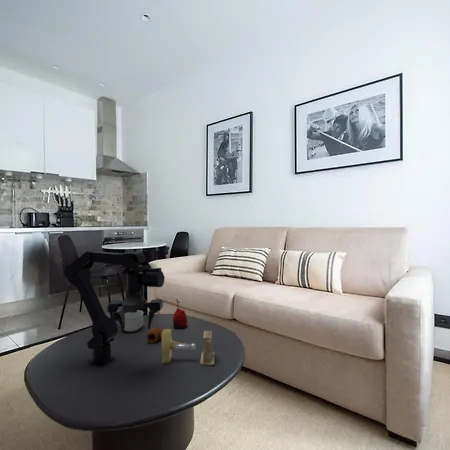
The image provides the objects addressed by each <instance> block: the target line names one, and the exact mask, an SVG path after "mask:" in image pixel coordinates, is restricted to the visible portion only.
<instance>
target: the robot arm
mask: <svg viewBox="0 0 450 450" xmlns="http://www.w3.org/2000/svg"><path fill="white" fill-rule="evenodd" d="M95 263H103V264H111V265H112V264H113V265H118V266H121V268H125V269H124V270H122V272H121V273H120V274H121V275H126V289H127V290H126V293H125V297H124V300H113V301H111V302H110V303H109V304H108V305H107V307H106V308H107V310H106V311H107V313H111V315H114V316H115V317H116V318H117V320H118V322H119V324H120V326H121V330H123V331H125V330H124V329H125V313H127V312H132V313H135V312H137V311H138V310H139V309H149V311H148V312H147V313H148V314H147V315H148V321H147V323H148V324H147V328H148V330H151V326H152V322H153V320H154V317H155V314H156V313H158V312H159V311H161V310H162V309H163V307H164V302H163V301H164V300H162V299H161V298H158V299H151V300H150V301H149V302H147V301H146V302H145V288H162V287H163V286H164V284H165V273H164V272H163V270H162V267H155V268H154V267H152V265H151V264H150V263H149V261H148V259H146V256H145V253H144V252H142V251H131V252H124V253H121V252H112V251H111V252H109V251H108V252H107V251H98V250H90V251H89V250H88V251H85V252H84V253H82V255H81V256H79V257H78V258H76V259H75V260H73V261H72V262H71V263H70V264H68V265H66V267H65V268H64V271H63V273H64V276H65V278H66V279H67V281H68V283H69V284H71V285H72V286H74V287H75V288H76V289H77V291H78V293H79V295H80V298H81V299H82V302H83V305H84V306H85V308H86V309H85V310H86V311H87V313H88V316H89V317H90V319H91V321H92V325H91V333H92V337H91V338H90V339H88V341H87V343H86V344H87V347H88V349H89V350H92V352H91V353H92V355H91V356H92V359H90V360H88V363H90V364H92V365H95V366H97V367H102V366H103V365H104V364H105V365H106V364H107V363H109V362H111V361H113V360H115V357H113V356H112V349H111V343H112V342H113V341H114V340H115V337H116V336H117V335H118V332H119V328H118V326H119V324H117V322H116V320H115V319H116V318H115V317H114V316H111V317H109V316H108V315H107V314H106V312H105V311H104V309H103V306H102V304H101V302H100V300H99V298H98V295H97V294H96V291H95V289H94V287H93V285H92V282H91V276H92V273H91V269H92V268H93V267H94V265H95Z"/></svg>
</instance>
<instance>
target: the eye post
mask: <svg viewBox="0 0 450 450" xmlns="http://www.w3.org/2000/svg"><path fill="white" fill-rule="evenodd" d="M212 331H213V330H204V331H203V337H202V352H201V357H200V363H199V366H200V365H214V366H215V356H214V355H215V353H216V352H215V351H213V332H212Z"/></svg>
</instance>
